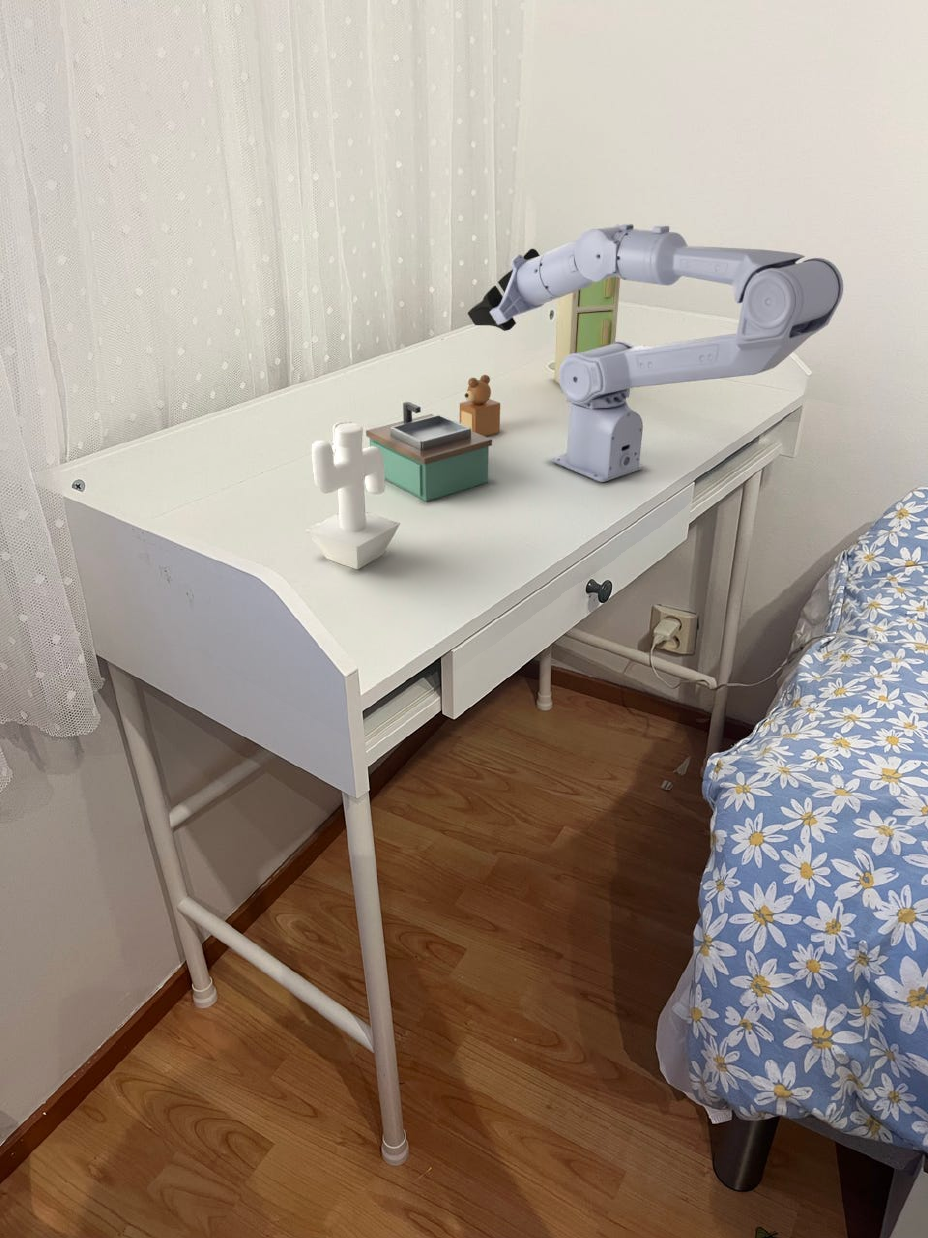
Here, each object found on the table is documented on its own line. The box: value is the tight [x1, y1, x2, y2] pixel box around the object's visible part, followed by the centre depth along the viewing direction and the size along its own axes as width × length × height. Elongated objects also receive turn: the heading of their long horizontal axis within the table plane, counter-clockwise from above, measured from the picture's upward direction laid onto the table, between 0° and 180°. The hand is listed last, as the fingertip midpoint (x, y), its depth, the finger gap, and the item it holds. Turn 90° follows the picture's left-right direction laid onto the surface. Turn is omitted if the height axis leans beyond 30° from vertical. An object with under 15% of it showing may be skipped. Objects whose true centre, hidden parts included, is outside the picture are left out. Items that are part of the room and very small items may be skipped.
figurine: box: [305, 420, 401, 570], centre depth 103 cm, size 7×9×15 cm
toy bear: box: [459, 374, 501, 437], centre depth 139 cm, size 4×5×8 cm
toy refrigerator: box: [553, 276, 621, 385], centre depth 155 cm, size 8×7×21 cm
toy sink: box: [365, 401, 493, 502], centre depth 124 cm, size 13×11×9 cm
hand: (487, 302), depth 134 cm, fingers open, 7 cm apart
